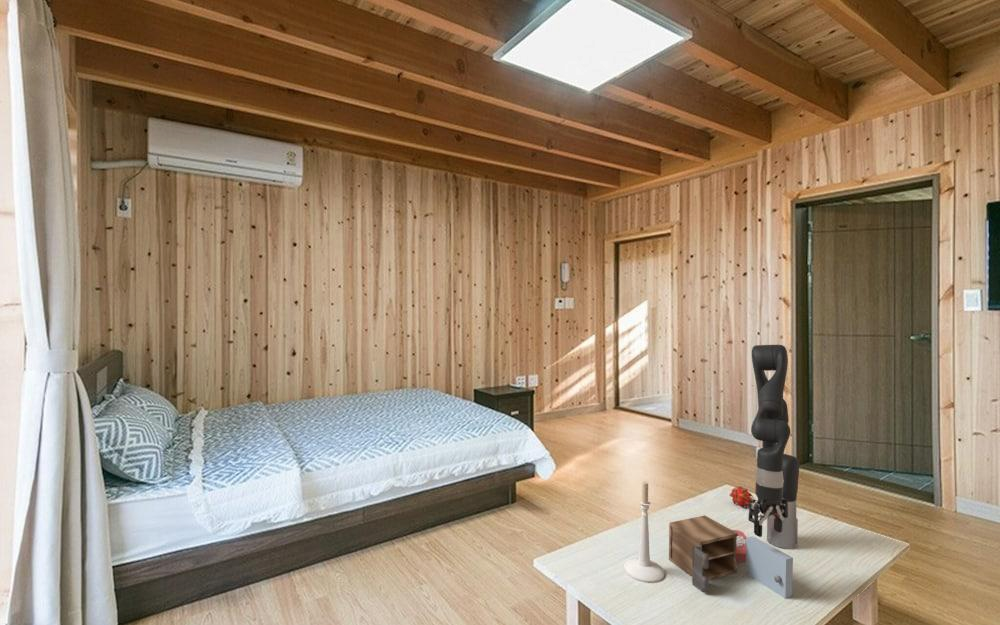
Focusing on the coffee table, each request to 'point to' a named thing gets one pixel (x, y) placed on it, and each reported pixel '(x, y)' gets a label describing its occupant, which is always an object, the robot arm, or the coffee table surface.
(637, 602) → the coffee table surface
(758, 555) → the door
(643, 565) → the candlestick
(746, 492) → the dragon fruit
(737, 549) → the plaque
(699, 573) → the cabinet
